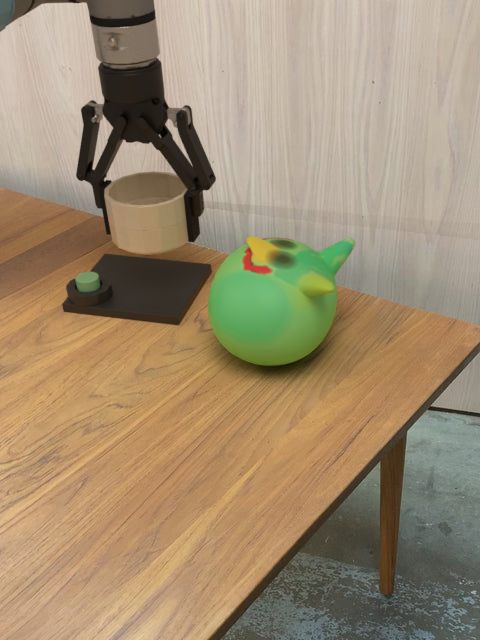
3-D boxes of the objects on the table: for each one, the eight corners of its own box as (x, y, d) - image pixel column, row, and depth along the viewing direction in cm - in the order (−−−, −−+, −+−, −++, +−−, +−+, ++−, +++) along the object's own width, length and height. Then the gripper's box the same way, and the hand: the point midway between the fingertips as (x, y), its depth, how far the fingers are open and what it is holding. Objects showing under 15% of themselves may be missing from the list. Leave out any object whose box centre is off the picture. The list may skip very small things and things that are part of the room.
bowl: (100, 253, 105) (90, 203, 100) (131, 217, 113) (123, 169, 108) (178, 261, 102) (172, 210, 98) (204, 223, 110) (200, 174, 106)
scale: (63, 312, 109) (58, 293, 107) (105, 261, 119) (102, 243, 117) (178, 326, 105) (176, 306, 103) (212, 272, 116) (210, 253, 114)
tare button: (73, 291, 108) (71, 281, 107) (83, 280, 110) (81, 270, 109) (94, 294, 107) (92, 283, 106) (104, 282, 109) (102, 272, 108)
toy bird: (231, 307, 108) (224, 205, 98) (352, 317, 106) (357, 213, 96) (197, 383, 96) (185, 275, 86) (333, 397, 93) (337, 287, 83)
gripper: (23, 65, 92) (62, 238, 107) (214, 73, 87) (227, 254, 102) (52, 47, 97) (85, 215, 112) (233, 54, 92) (243, 228, 107)
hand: (153, 234), depth 107 cm, fingers closed on bowl, 11 cm apart
